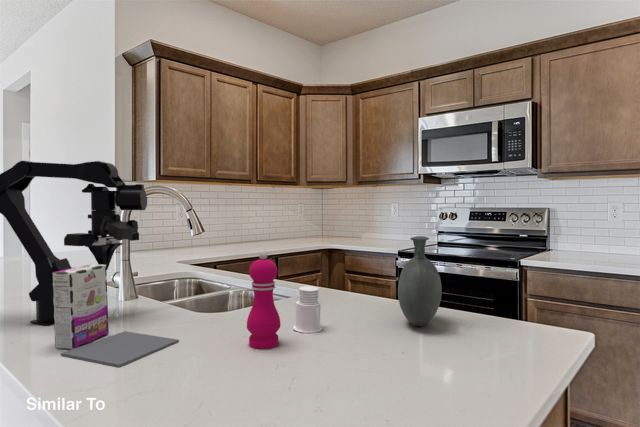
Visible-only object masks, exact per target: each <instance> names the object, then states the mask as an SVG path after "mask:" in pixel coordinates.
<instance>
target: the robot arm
mask: <svg viewBox="0 0 640 427" xmlns="http://www.w3.org/2000/svg"><path fill="white" fill-rule="evenodd" d="M37 177H39V178H54V179H55V178H56V179H57V178H58V179H75V180H80V181H83V182H89V183H88V184H87V186H85V187H84V188H83V189H82V190H81V192H82V193H85V194H86V193H87V194H90V206H91V207H90V208H91V212H90V214H87V219H91V221H90V222H91V230H87V233H86V232H85V233H84V232H76V233H74V232H73V233H66V235H65V236H64V238H63V245H64V246H67V247H68V246H69V247H85V248H87V249H89V251H90V252H91V254H92V255H93V257H94V259H95V260H96V263H97V264H99V265H100V264H101V265H106V271H108V270H109V266H110V264H111V261H112V258H113V256H114V253H115V251H116V249H117V248H119V247H120V246H122V245H124V244H123V242H120V241H123V240H129V242H132V241H133V242H134V241H139V240H140V232H138V229H139V224H138V221H137V220H136V219H129V220H127V221H122V220H121V216H120V214H118V213H117V207H119V210H120V211H146V209H147V207H148V206H147V205H148V197H147V192H146V190H145V185H144V184H143V183H140V184H139V183H137V184H126V183H125V182H124V181H123V179H122V178H121V177H120V176H119V171H118V169H117V166H115V165H114V164H113V163H110V162H105V161H100V160H95V161H87V162H86V161H85V162H81V163H58V162H57V163H54V162H53V163H52V162H40V161H39V162H37V161H36V162H35V161H28V160H20V161H18V162H17V163H15V164H14V165H13V166H12V167H11V168H8V169H7V170H5V171H3V172H1V173H0V214H1V215H2V216H3V217H4V218H5V220H6V221H7V222H8V225H9V226H10V228H11V229H12V231H13V232H14V234H15V236H16V237H17V238H18V239H19V242H20V243H21V245H22V246H23V248H24V249H25V251H26V253H27V254H28V256H29V257H30V259H31V261H32V263H33V264H34V269H35V279H36V281H37V283H38V284H37V285H36V286H35V287H34V288H33V289H32V290H31V291H29V293H28V296H29V299H30V301H31V302H35V310H36V313H35V315H36V319H33V320H30V323H31V324H37V325H41V326H42V325H43V326H49V325H53V324H54V302H53V279H52V273H53V272H57V271H62V270H66V269H71V268H73V267H72V266H71V264H70V261H69V259H68V258H67V257H66V258H65V257H64V258H61V259H60V258H58V257H57V256H56V255H55V254H54V253H53V251H52V249H51V248H50V246H49V245H48V243H47V241H46V240H45V239H44V236H43V235H42V234H41V232H40V230H39V228H38V227H37V225H36V224H35V222H34V220H33V219H32V218H31V216H30V215H29V212H28V210H26V205H25V204H26V201H25V196H24V194H23V192H24V191H25V190H26V189H27V188H28V187H29V186H30V184H31V183H32V181H33V179H35V178H37ZM94 184H97V185H98V184H99V185H103V186H96V185H94ZM110 188H112V189H116V190H110Z"/></svg>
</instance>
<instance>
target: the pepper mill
mask: <svg viewBox="0 0 640 427" xmlns="http://www.w3.org/2000/svg"><path fill="white" fill-rule="evenodd" d="M258 258H259V259H256V260H254V261H252V263H251V264H250V265H249V270H248V271H249V272H248V275H249V277H250V278H251V279H252V282H251V289H252V290H253V302H252V306H251V309H250V311H249V314H248V317H247V321H246V329H247V330H248V332H249V333H250V336H248V345H249V346H250V347H251V348H253V349H259V350H265V349H267V350H268V349H271V348H275V347H277V346H278V345H279V335H278V334H277V332H278V331H279V330H280V328H281V318H280V315H279V313H278V309H277V308H276V305H275V301H274V290H275V288H276V286H275V285H276V281H275V280H274V279H275V278H276V277H277V275H278V267H277V264H276V263H275V262H274V261H273V260H271V259H268V254H267V252H266V251H262V252H260V253H259V254H258Z"/></svg>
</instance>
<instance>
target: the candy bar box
mask: <svg viewBox="0 0 640 427" xmlns="http://www.w3.org/2000/svg"><path fill="white" fill-rule="evenodd" d="M107 274H108V273H107V270H106V265H101V264H100V265H99V264H98V263H97V264H96V263H95V264H94V263H91V264H86V265H80V266H77V267H76V266H75V267H72V268H71V269H66V270H62V271H57V272H53V273H52V279H53V302H54V345H55V349H57V350H71V349H74V348H77V347H80V346H83V345H86V344H89V343H92V342H95V341H98V340H100V339H101V338H103V337H105V336H107V335H109V334H110V333H109V305H108V279H107Z"/></svg>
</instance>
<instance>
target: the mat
mask: <svg viewBox="0 0 640 427" xmlns="http://www.w3.org/2000/svg"><path fill="white" fill-rule="evenodd" d="M179 342H180V340H179V339H176V338H170V337H164V336H157V335H152V334H146V333H138V332H132V331H126V330H124V331H121V332H119V333H116V334H113V335H110V336H107V337H104V338H102V339H101V338H100V339H97V340H94V341H92V342H90V343H88V344H86V345H83V346H80V347H77V348H74V349H71V350H70V349H68V350H66V351H62V352H61V353H60V356H61V357H65V358H71V359H75V360H81V361H84V362H85V361H87V362H90V363H96V364H101V365H106V366H110V367H116V368H121V367H123V366H126V365H129V364H131V363H133V362H135V361H138V360H140V359H142V358H144V357H147V356H149V355H151V354H154V353H156V352H159V351H161V350H163V349H165V348H168V347H170V346H173V345H175V344H178V343H179Z"/></svg>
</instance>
